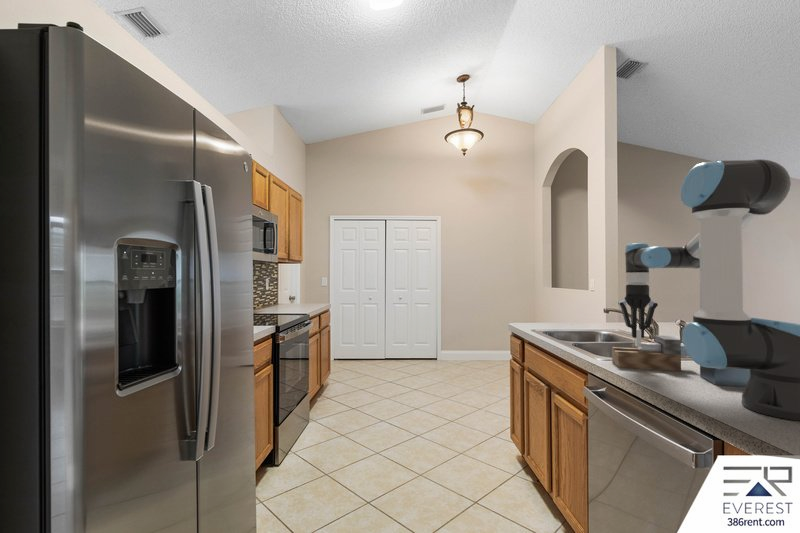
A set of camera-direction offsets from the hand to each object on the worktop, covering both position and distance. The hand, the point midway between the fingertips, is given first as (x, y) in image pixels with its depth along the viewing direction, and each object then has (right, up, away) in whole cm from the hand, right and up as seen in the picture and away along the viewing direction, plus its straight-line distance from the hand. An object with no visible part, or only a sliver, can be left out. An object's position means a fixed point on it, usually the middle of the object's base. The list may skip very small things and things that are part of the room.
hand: (638, 346), depth 143 cm
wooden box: (+2, -7, -1) cm, 8 cm away
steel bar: (+8, -2, -2) cm, 9 cm away
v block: (+15, -7, -21) cm, 27 cm away
